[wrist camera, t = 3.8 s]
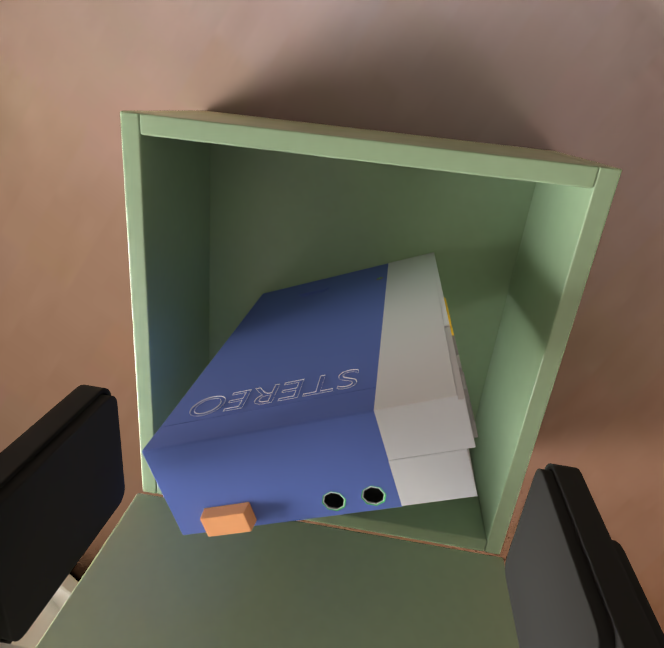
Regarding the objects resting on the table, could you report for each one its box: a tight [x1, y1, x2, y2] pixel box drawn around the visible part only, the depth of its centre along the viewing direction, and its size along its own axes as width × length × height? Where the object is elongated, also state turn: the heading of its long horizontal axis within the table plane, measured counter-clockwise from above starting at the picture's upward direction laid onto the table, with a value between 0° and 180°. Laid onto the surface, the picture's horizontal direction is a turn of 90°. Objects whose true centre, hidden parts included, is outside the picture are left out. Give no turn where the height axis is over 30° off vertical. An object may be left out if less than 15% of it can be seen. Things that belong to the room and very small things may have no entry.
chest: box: [120, 111, 622, 554], centre depth 20 cm, size 14×14×7 cm
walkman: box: [142, 252, 478, 537], centre depth 17 cm, size 8×3×12 cm, turn 106°
